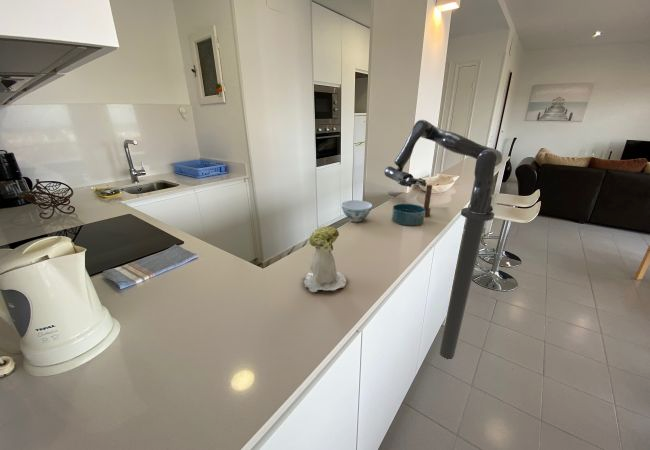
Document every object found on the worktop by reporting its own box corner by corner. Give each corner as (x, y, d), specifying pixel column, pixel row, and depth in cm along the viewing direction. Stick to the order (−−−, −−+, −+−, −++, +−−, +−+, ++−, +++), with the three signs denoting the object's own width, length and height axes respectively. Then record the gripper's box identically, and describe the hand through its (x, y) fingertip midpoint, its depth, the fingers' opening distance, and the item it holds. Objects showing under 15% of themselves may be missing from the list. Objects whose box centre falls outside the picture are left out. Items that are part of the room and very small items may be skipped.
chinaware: (337, 215, 144) (337, 201, 141) (363, 213, 147) (364, 199, 144) (346, 226, 130) (347, 210, 127) (376, 223, 134) (377, 207, 131)
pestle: (429, 214, 146) (433, 184, 140) (429, 217, 142) (434, 186, 136) (420, 213, 147) (424, 184, 142) (420, 216, 143) (425, 186, 138)
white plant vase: (351, 291, 81) (354, 234, 74) (308, 297, 78) (307, 238, 72) (339, 271, 92) (341, 219, 85) (301, 275, 89) (300, 222, 82)
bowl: (422, 217, 142) (424, 205, 140) (424, 227, 128) (426, 214, 126) (392, 214, 146) (393, 202, 143) (391, 224, 132) (392, 211, 130)
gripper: (393, 172, 161) (406, 178, 147) (416, 171, 164) (431, 177, 149) (392, 185, 164) (405, 192, 149) (414, 184, 167) (429, 191, 152)
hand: (418, 184), depth 149 cm, fingers open, 8 cm apart
